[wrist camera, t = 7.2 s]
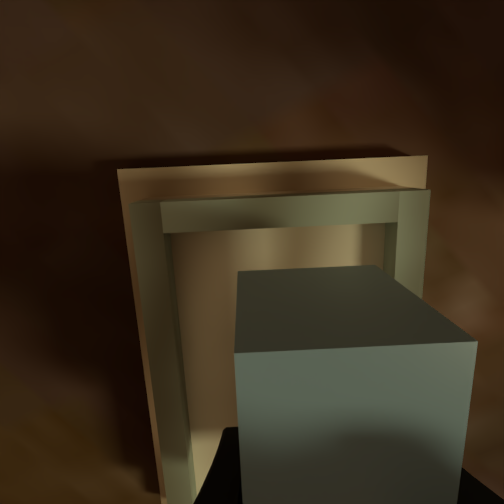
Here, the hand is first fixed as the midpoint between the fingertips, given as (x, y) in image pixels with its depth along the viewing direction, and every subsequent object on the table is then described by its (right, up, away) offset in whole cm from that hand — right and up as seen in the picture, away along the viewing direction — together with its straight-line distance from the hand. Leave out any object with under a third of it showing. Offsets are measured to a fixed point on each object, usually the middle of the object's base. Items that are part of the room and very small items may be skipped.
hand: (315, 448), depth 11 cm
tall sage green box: (0, 0, +1) cm, 1 cm away
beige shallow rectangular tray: (-1, +1, +8) cm, 8 cm away
